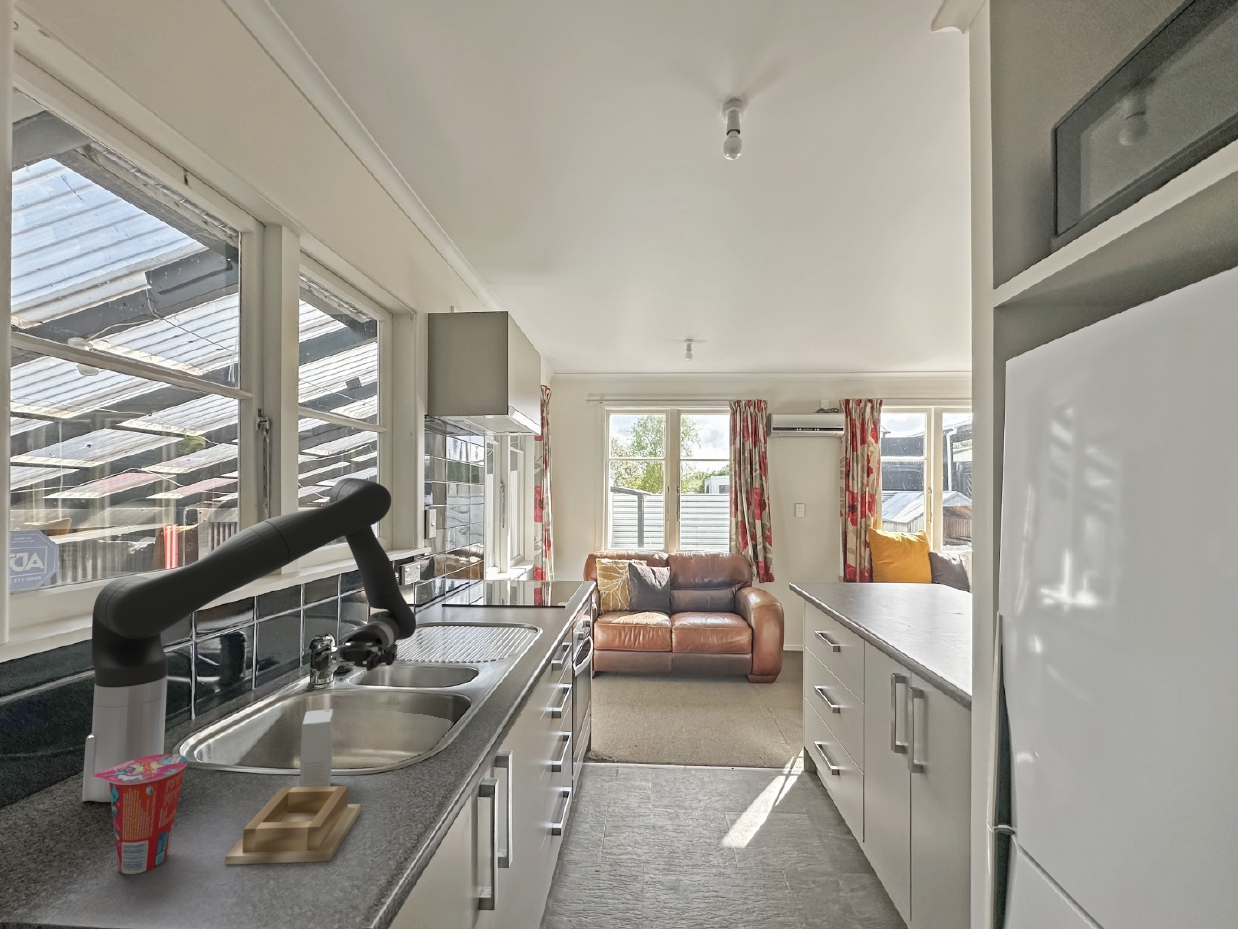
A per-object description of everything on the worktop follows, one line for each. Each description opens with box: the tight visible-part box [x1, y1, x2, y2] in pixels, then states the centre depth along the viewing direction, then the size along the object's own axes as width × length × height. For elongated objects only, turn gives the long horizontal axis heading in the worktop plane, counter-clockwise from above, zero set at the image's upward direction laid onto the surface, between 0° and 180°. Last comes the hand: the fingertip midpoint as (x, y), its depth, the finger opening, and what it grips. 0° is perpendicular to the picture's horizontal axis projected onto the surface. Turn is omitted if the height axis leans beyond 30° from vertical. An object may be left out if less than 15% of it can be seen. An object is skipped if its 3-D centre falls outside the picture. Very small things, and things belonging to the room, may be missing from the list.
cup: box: [93, 753, 189, 875], centre depth 81 cm, size 9×8×12 cm
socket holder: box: [224, 785, 362, 865], centre depth 88 cm, size 13×13×4 cm
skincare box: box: [299, 708, 334, 787], centre depth 101 cm, size 6×4×12 cm
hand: (343, 665), depth 112 cm, fingers open, 8 cm apart
